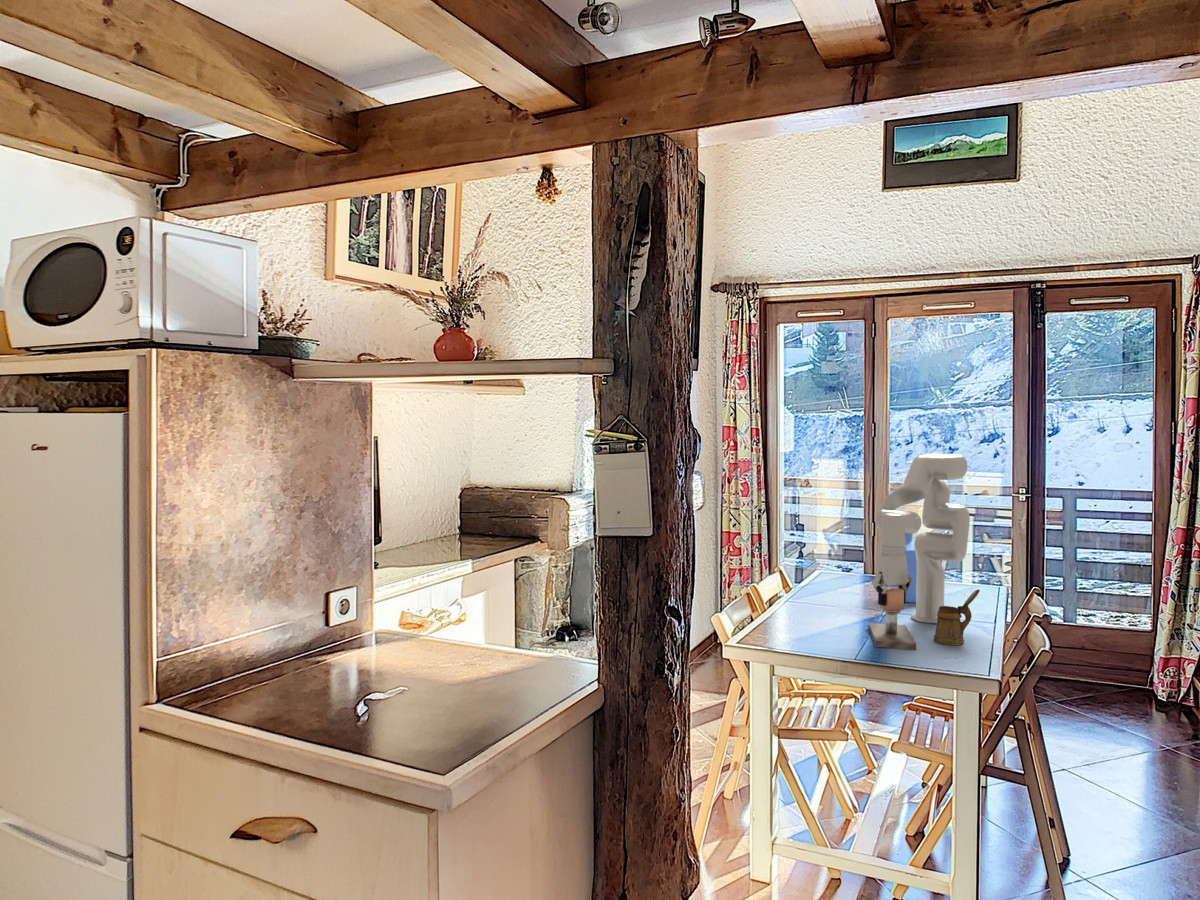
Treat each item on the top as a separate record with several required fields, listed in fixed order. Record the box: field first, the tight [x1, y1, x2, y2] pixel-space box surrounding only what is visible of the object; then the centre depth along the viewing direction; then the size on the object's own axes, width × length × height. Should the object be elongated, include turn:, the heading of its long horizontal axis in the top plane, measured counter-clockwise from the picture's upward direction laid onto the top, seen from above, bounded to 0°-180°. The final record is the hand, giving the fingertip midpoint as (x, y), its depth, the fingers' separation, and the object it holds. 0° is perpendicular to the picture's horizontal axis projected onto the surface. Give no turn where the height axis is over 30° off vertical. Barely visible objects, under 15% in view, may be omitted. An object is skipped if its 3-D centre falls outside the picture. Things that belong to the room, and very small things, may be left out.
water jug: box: [888, 534, 917, 604], centre depth 337 cm, size 16×16×28 cm
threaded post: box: [882, 609, 902, 634], centre depth 276 cm, size 6×6×8 cm
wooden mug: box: [933, 589, 981, 646], centre depth 271 cm, size 9×14×18 cm, turn 69°
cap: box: [879, 587, 905, 611], centre depth 276 cm, size 7×7×6 cm
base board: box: [868, 622, 917, 651], centre depth 276 cm, size 12×24×2 cm, turn 168°
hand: (891, 603), depth 276 cm, fingers closed on cap, 7 cm apart
